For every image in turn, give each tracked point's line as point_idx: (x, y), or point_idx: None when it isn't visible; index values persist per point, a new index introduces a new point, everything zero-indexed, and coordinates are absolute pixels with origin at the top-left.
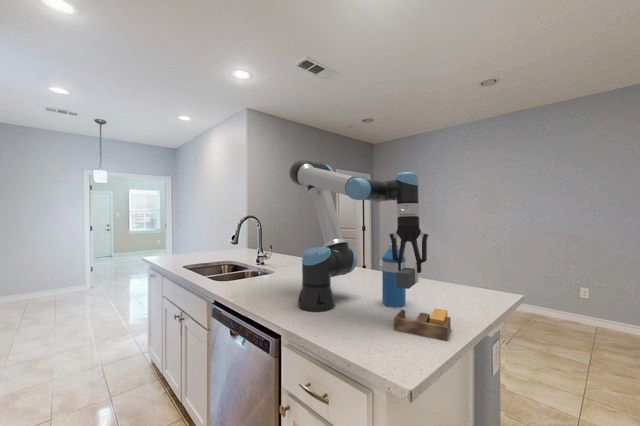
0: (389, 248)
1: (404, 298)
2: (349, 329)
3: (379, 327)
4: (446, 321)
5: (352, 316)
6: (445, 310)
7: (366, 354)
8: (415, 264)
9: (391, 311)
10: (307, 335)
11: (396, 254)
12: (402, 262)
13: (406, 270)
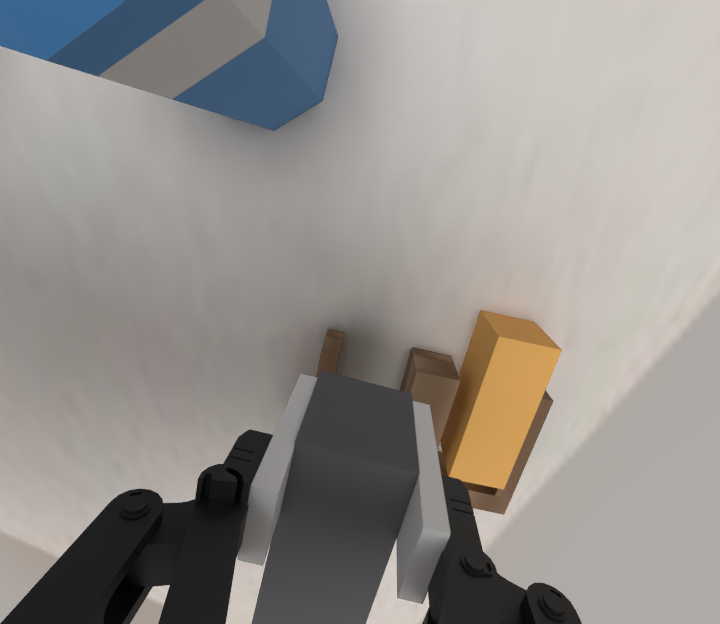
0: None
1: (326, 49)
2: (146, 470)
3: (247, 428)
4: (519, 452)
5: (103, 342)
6: (549, 358)
7: (249, 598)
8: (409, 595)
9: (266, 213)
10: (42, 540)
11: (107, 580)
12: (250, 511)
13: (318, 588)
